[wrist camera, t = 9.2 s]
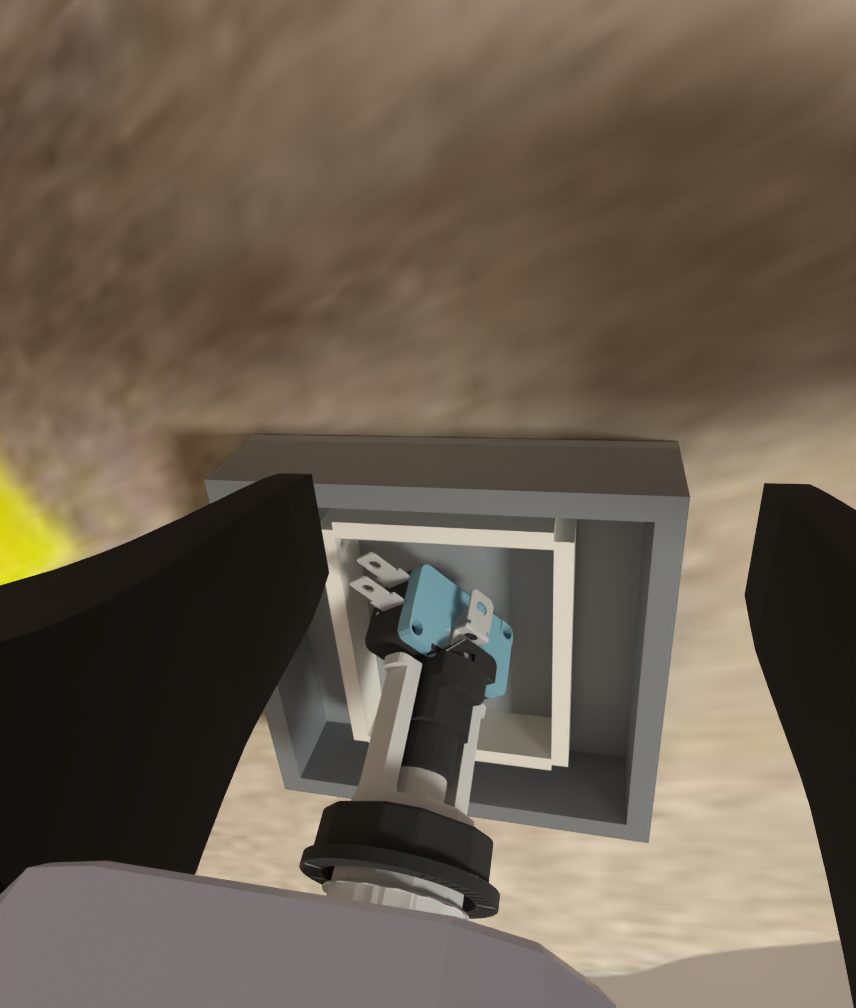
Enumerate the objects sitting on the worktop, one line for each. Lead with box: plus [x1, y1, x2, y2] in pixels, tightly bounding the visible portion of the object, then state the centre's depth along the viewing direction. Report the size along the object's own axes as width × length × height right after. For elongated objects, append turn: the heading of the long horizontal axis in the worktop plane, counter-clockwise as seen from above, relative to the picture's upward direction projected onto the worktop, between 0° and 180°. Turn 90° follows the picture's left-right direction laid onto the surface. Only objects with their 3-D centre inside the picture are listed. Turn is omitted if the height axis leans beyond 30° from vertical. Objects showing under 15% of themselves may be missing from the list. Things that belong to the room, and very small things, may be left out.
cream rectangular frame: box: [320, 508, 577, 770], centre depth 24 cm, size 8×10×2 cm
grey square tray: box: [204, 434, 690, 843], centre depth 24 cm, size 14×14×4 cm
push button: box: [299, 552, 513, 921], centre depth 20 cm, size 7×5×10 cm
